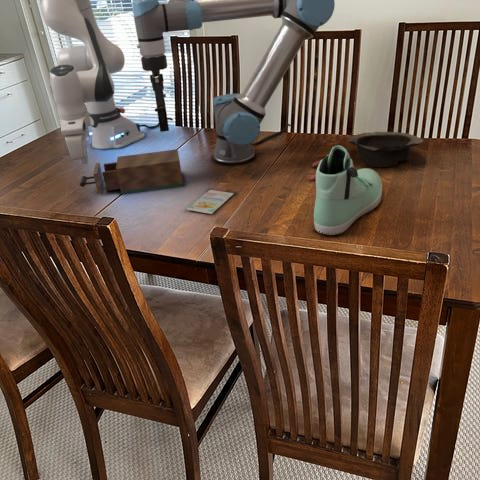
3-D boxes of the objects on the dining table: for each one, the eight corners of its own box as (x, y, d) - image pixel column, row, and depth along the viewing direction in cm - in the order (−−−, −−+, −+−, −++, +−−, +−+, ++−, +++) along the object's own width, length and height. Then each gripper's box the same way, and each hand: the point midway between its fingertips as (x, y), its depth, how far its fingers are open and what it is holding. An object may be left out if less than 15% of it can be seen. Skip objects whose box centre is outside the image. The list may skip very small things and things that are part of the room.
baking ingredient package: (185, 208, 144) (210, 188, 156) (186, 209, 145) (210, 190, 156) (211, 213, 141) (234, 192, 152) (211, 214, 141) (234, 193, 152)
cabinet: (121, 194, 158) (115, 168, 154) (122, 181, 167) (117, 156, 163) (183, 185, 160) (179, 160, 156) (181, 173, 170) (177, 149, 165)
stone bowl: (380, 178, 154) (381, 150, 149) (333, 160, 174) (332, 135, 170) (437, 159, 162) (439, 132, 158) (385, 144, 183) (386, 120, 178)
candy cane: (296, 178, 159) (296, 174, 158) (317, 162, 169) (317, 158, 168) (312, 182, 156) (312, 178, 155) (333, 165, 166) (333, 161, 165)
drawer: (81, 196, 157) (76, 176, 153) (84, 184, 165) (79, 165, 161) (156, 186, 160) (153, 166, 156) (155, 174, 168) (152, 155, 164)
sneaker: (389, 187, 148) (396, 123, 138) (356, 242, 123) (361, 168, 112) (346, 181, 154) (350, 119, 144) (306, 232, 129) (307, 161, 118)
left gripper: (69, 112, 157) (79, 152, 165) (59, 132, 140) (71, 175, 147) (88, 110, 158) (98, 150, 165) (81, 129, 141) (92, 173, 148)
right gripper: (140, 49, 153) (151, 114, 165) (140, 64, 132) (152, 138, 143) (164, 47, 154) (173, 112, 165) (167, 61, 133) (177, 135, 144)
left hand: (85, 162), depth 156 cm, fingers closed
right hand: (163, 124), depth 154 cm, fingers open, 13 cm apart
